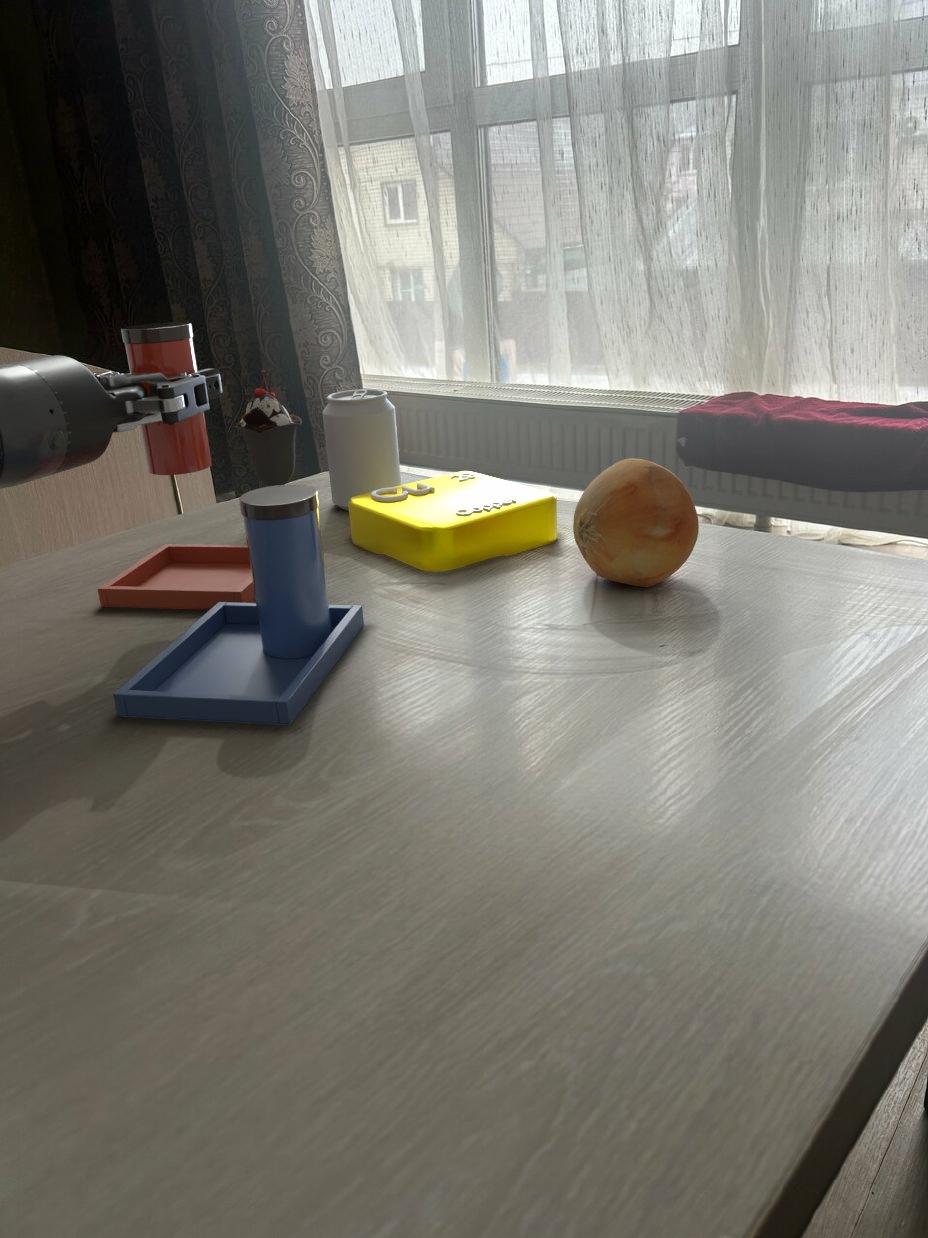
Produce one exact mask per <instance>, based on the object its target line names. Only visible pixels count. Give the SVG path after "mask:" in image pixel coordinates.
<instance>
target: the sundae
mask: <svg viewBox="0 0 928 1238" xmlns="http://www.w3.org/2000/svg"><path fill="white" fill-rule="evenodd" d="M260 373H261V375H262V382H261V385H260V386H259V387H258V388H256V389H254V392H253V393H254V395H253V397H252V398H251V399H250V400H249V401H248V402H247V406H246V408H245V413H243V415H242V416H241V418H240V419H241V420H240V421H238V422H237V423H236V425H235V426H234V428H235V429H237V430H239V431H240V432H241V434H242V437H243V439H244V441H245V444H246V448H247V452H248V455H249V459H250V463H251V466H252V469H253V472H254V474H255V477H256V478H258V479H259V481H261V482H262V484H265V485H267V487H269V486H277V485H287V483H288V482H289V481H290V480H291V478H292V477H293V475H294V474H295V466H296V435H297V428H299V427H300V426H302V425H303V420H302V418H301V417H300V416H297V415H295V414H294V413H292V414H289V412H288V411H287V409H286V408H285V407H284V405H282V404H281V403H280V402H279V401H278V400H277V399H276V394H275V392H272V389H271V385H270V383H269V380H268V378H267V377H266V375H265V374H266V373H267V372H266V370H265V369H261V370H260ZM265 381H266V385H267V388H268V391H266V390H265V389H264V388H263V386H264V383H265Z"/></svg>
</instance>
